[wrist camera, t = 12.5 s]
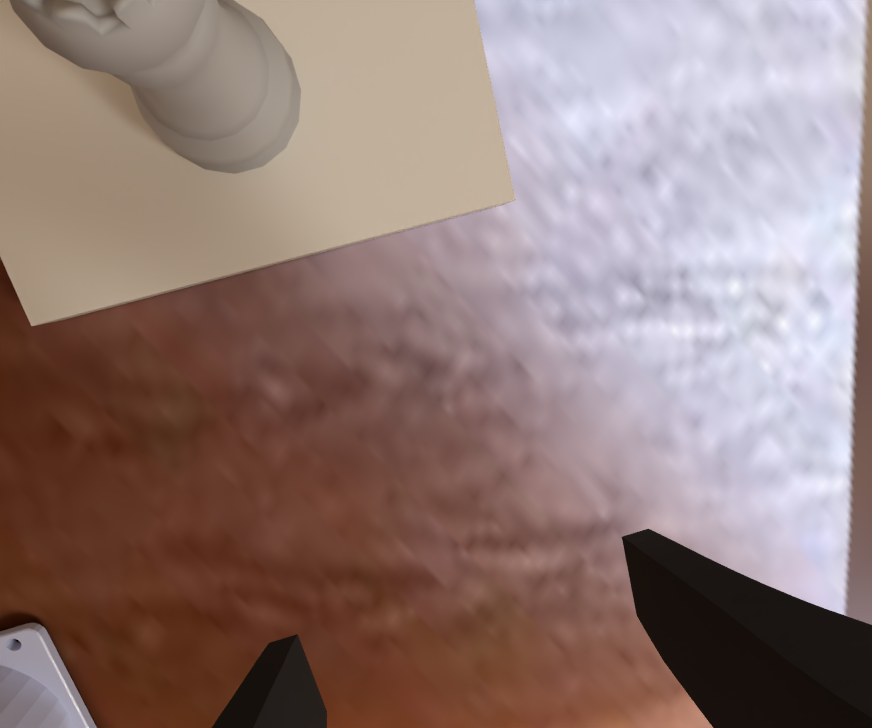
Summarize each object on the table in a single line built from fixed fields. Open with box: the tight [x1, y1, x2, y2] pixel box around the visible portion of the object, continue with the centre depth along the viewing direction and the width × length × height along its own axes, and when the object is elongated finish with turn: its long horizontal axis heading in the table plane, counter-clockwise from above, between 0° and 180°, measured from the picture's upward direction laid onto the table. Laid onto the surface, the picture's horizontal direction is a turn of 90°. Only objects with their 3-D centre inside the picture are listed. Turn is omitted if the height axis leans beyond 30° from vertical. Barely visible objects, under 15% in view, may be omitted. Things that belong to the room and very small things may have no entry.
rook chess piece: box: [9, 0, 301, 174], centre depth 11 cm, size 4×4×8 cm
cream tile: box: [0, 0, 515, 326], centre depth 16 cm, size 16×11×2 cm
